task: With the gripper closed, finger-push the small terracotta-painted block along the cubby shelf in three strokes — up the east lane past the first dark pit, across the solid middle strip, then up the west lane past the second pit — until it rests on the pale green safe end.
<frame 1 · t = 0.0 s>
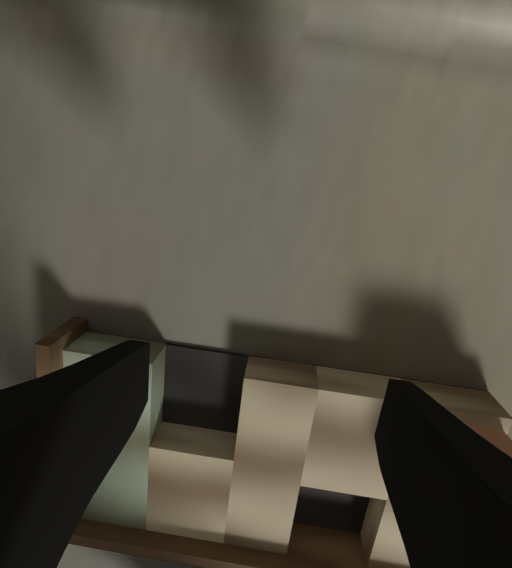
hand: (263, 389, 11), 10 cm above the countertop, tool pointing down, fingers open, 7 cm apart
cubby shelf: (269, 443, 24), on the countertop
block: (447, 458, 20), point 2 cm above the countertop, touching cubby shelf
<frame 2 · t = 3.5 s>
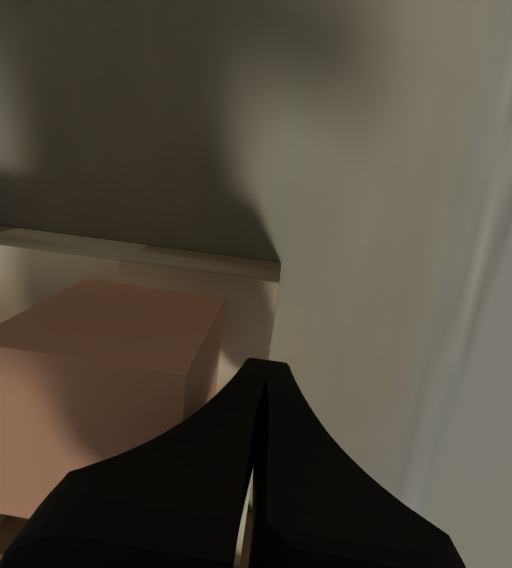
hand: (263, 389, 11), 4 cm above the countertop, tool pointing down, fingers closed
block: (152, 352, 12), point 3 cm above the countertop, touching gripper
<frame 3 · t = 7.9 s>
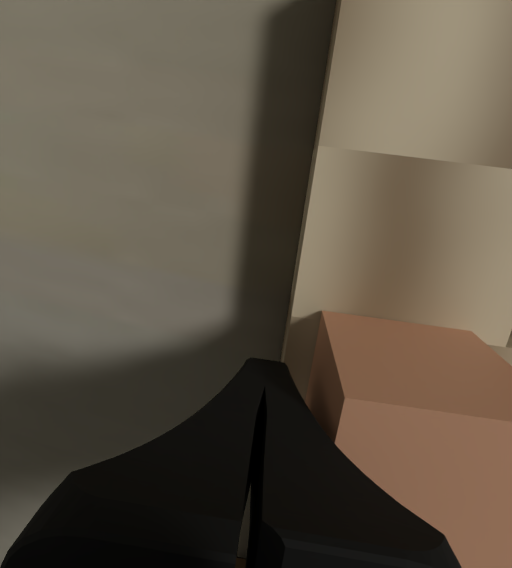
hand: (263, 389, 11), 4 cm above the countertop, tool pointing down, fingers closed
cubby shelf: (439, 362, 14), on the countertop
block: (379, 384, 12), point 3 cm above the countertop, touching gripper
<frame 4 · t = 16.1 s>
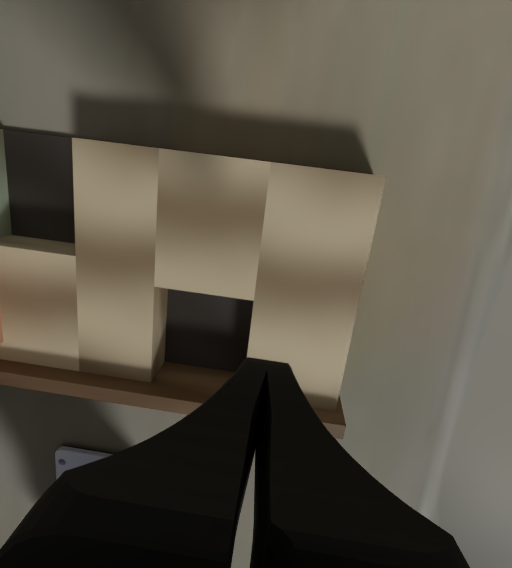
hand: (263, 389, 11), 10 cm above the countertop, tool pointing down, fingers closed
cubby shelf: (135, 259, 21), on the countertop
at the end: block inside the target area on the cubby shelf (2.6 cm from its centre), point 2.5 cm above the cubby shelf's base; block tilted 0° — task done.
